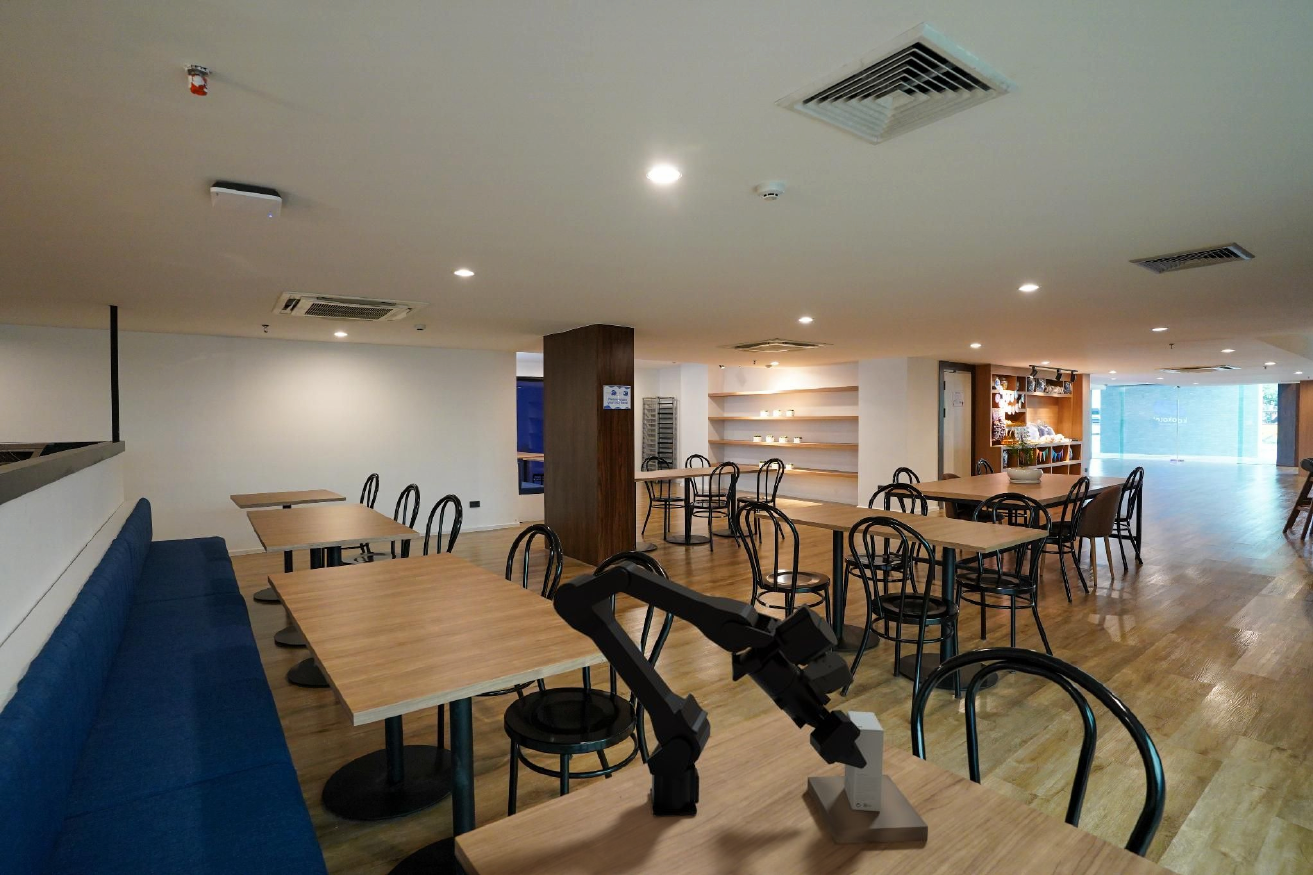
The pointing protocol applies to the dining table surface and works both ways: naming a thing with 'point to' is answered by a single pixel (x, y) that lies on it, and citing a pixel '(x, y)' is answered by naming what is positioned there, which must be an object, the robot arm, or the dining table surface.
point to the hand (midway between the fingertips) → (849, 748)
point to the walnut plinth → (866, 813)
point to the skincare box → (866, 781)
